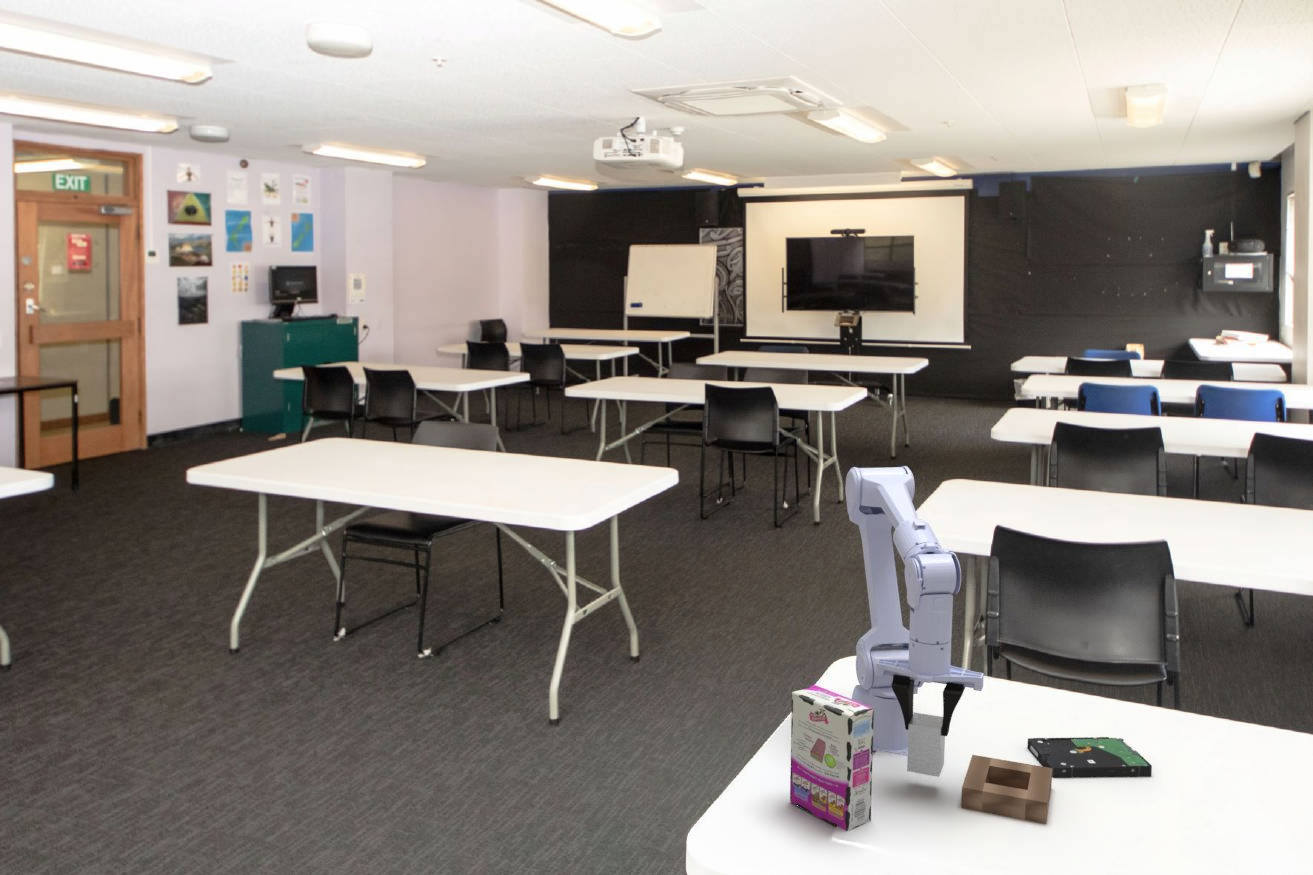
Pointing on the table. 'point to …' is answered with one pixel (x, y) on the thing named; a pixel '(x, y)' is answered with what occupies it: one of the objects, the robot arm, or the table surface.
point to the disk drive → (1089, 757)
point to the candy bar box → (831, 756)
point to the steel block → (925, 744)
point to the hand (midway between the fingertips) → (927, 730)
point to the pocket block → (1007, 789)
